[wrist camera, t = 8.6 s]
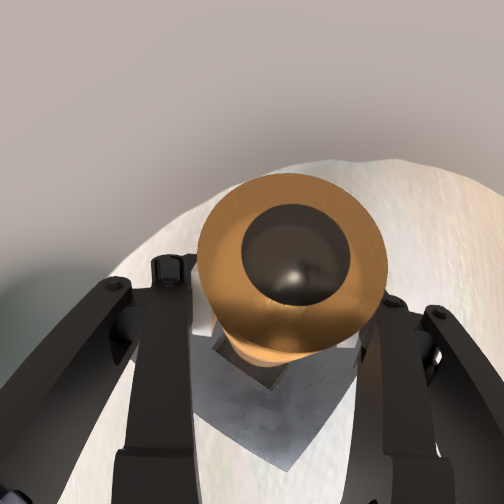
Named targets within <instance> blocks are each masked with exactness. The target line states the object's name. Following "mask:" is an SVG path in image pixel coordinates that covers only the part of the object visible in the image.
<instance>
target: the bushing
mask: <svg viewBox="0 0 504 504" xmlns="http://www.w3.org/2000/svg"><path fill="white" fill-rule="evenodd" d="M197 267H198V273H199V279H200V282H201V285H202V288H203V291H204V293H205V295H206V297H207V299H208V301H209V303H210V305H211V307H212V309H213V311H214V313H215V315H216V317H217V319H218V321H219V323H220V324H221V326H222V328H223V330H224V332H225V334H226V336H227V338H228V339H229V341H230V343H231V345H232V347H233V349H234V350H235V351H236V353H237V354H238V355H239V356H240V357H241V358H242V359H244V360H245V361H247V362H248V363H251V364H253V365H256V366H260V367H274V366H278V365H282V364H285V363H288V362H291V361H294V360H297V359H300V358H303V357H305V356H308V355H311V354H314V353H317V352H319V351H322V350H325V349H328V348H330V347H333V346H335V345H337V344H339V343H341V342H343V341H345V340H347V339H348V338H350V337H351V336H353V335H354V334H356V333H357V332H358V331H359V330H360V329H361V328H362V327H363V326H364V325H365V324H366V323H367V322H368V321H369V320H370V318H371V317H372V316H373V314H374V313H375V311H376V309H377V308H378V306H379V304H380V301H381V299H382V297H383V294H384V290H385V287H386V282H387V274H388V261H387V254H386V249H385V245H384V241H383V238H382V236H381V233H380V231H379V229H378V227H377V225H376V223H375V222H374V220H373V218H372V217H371V216H370V214H369V213H368V212H367V210H366V209H365V208H364V207H363V206H362V205H361V204H360V203H359V202H358V201H357V200H356V199H355V198H354V197H352V196H351V195H350V194H349V193H347V192H346V191H344V190H343V189H341V188H339V187H338V186H336V185H334V184H332V183H330V182H327V181H325V180H322V179H319V178H316V177H312V176H308V175H302V174H292V173H284V174H273V175H266V176H263V177H259V178H256V179H253V180H251V181H248V182H246V183H244V184H242V185H240V186H238V187H237V188H235V189H234V190H232V191H231V192H230V193H228V194H227V195H226V196H225V197H224V198H223V199H222V200H221V201H220V202H219V203H218V204H217V205H216V206H215V208H214V209H213V210H212V211H211V213H210V215H209V216H208V218H207V220H206V222H205V224H204V226H203V229H202V231H201V235H200V238H199V242H198V250H197Z"/></svg>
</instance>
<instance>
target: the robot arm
mask: <svg viewBox="0 0 504 504" xmlns="http://www.w3.org/2000/svg"><path fill="white" fill-rule="evenodd" d="M151 271H152V285H151V287H150V288H140V289H132V284H131V281H130V280H129V279H127V278H124V277H118V276H113V277H108V278H106V279H103V280H102V281H100V282H99V283H98V284H97V285H96V286H95V287H94V288H93V289H92V290H91V291H90V292H89V293H88V294H87V295H86V296H85V297H84V298H83V299H82V300H81V301H80V302H79V303H78V304H77V305H76V306H75V307H74V308H73V309H72V310H71V311H70V312H69V313H68V314H67V315H66V316H65V317H64V318H63V319H62V320H61V321H60V322H59V323H58V324H57V325H56V326H55V328H54V329H53V330H52V331H51V332H50V333H49V334H48V335H47V336H46V337H45V338H44V339H43V340H42V342H41V343H40V344H39V345H38V346H37V347H36V348H35V349H34V351H33V352H32V353H31V354H30V355H29V356H28V357H27V358H26V360H25V361H24V362H23V363H22V364H21V365H20V367H19V368H18V369H17V370H16V371H15V372H14V374H13V375H12V376H11V377H10V379H9V380H8V381H7V382H6V383H5V385H4V386H3V387H2V388H1V390H0V504H57V502H58V500H59V499H60V497H61V495H62V493H63V491H64V488H65V486H66V484H67V482H68V480H69V477H70V475H71V473H72V471H73V469H74V467H75V464H76V462H77V460H78V458H79V456H80V454H81V452H82V450H83V448H84V446H85V444H86V442H87V440H88V438H89V436H90V434H91V432H92V430H93V428H94V426H95V424H96V422H97V420H98V418H99V416H100V414H101V412H102V410H103V408H104V406H105V404H106V403H107V401H108V399H109V397H110V395H111V393H112V391H113V389H114V388H115V386H116V384H117V382H118V380H119V378H120V376H121V375H122V373H123V371H124V369H125V367H126V366H127V364H128V362H129V360H130V358H131V357H132V355H133V353H134V351H135V350H136V348H137V346H138V344H139V347H138V353H137V358H136V364H135V370H134V376H133V383H132V389H131V396H130V404H129V411H128V419H127V428H126V438H125V445H124V447H123V449H118V451H117V453H116V456H115V461H114V470H113V482H112V498H111V504H202V497H201V490H200V482H199V473H198V463H197V453H196V443H195V431H194V418H193V403H192V385H191V364H190V335H189V330H190V327H191V325H192V334H195V335H202V336H209V337H211V336H212V333H213V330H214V326H215V323H216V320H217V317H216V315H215V313H214V311H213V309H212V307H211V305H210V303H209V301H208V299H207V297H206V295H205V293H204V291H203V288H202V285H201V282H200V279H199V273H198V267H197V254H186V255H184V256H180V255H173V254H167V255H160V256H157V257H155V258H153V259H152V261H151ZM358 337H359V338H360V341H361V346H360V349H359V352H358V355H357V357H356V360H355V363H354V365H353V368H355V367H356V365H357V364H358V365H357V384H356V398H355V410H354V421H353V430H352V439H351V447H350V455H349V462H348V468H347V475H346V481H345V487H344V492H343V497H342V500H341V503H340V504H504V382H503V380H502V379H501V377H500V376H499V374H498V373H497V372H496V370H495V369H494V367H493V366H492V364H491V363H490V362H489V360H488V359H487V358H486V356H485V355H484V353H483V352H482V351H481V349H480V348H479V347H478V345H477V344H476V343H475V342H474V340H473V339H472V338H471V336H470V335H469V334H468V333H467V331H466V330H465V329H464V327H463V326H462V325H461V324H460V323H459V321H458V320H457V319H456V318H455V316H454V315H453V314H452V313H451V312H450V311H449V310H447V309H445V307H443V306H440V305H428V306H427V307H426V308H425V311H424V314H423V315H422V314H418V313H414V312H410V311H409V310H408V306H407V304H406V303H405V302H404V301H403V300H402V299H400V298H398V297H396V296H393V295H389V294H388V293H387V291H386V290H384V294H383V297H382V299H381V301H380V304H379V306H378V308H377V309H376V311H375V313H374V314H373V316H372V317H371V318H370V320H369V321H368V322H367V323H366V324H365V325H364V326H363V327H362V328H361V329H360V330H359V331H358V332H357V333H356V334H354V335H353V336H351V337H350V338H348V339H347V340H345V341H343V342H341V343H339V344H337V348H355V346H356V343H357V340H358ZM139 341H140V342H139ZM439 351H440V352H441V354H442V358H441V360H440V362H439V364H438V363H437V362H436V360H435V359H436V357H437V355H438V353H439ZM435 441H436V442H435ZM436 444H437V446H438V449H439V452H440V455H441V457H439V456H438V455H437V451H436Z"/></svg>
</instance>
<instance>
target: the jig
mask: <svg viewBox="0 0 504 504" xmlns="http://www.w3.org/2000/svg"><path fill="white" fill-rule="evenodd" d="M189 335H190V364H191V385H192V403H193V412H194V413H195V414H196V415H198V416H199V417H200V418H202V419H203V420H204V421H206V422H207V423H209V424H210V425H211V426H213V427H214V428H216V429H217V430H219V431H220V432H221V433H223V434H224V435H226V436H227V437H229V438H230V439H232V440H233V441H235V442H236V443H238V444H239V445H241V446H243V447H244V448H246V449H247V450H249V451H251V452H252V453H254V454H255V455H257V456H259V457H260V458H262V459H264V460H265V461H267V462H269V463H271V464H272V465H274V466H276V467H278V468H279V469H281V470H283V471H285V472H287V471H288V470H289V469H290V468H291V467H292V465H293V464H294V463H295V462H296V460H297V459H298V458H299V457H300V456H301V454H302V453H303V452H304V451H305V449H306V448H307V447H308V445H309V444H310V443H311V442H312V440H313V439H314V438H315V436H316V435H317V434H318V432H319V431H320V429H321V428H322V427H323V425H324V424H325V423H326V421H327V420H328V418H329V417H330V415H331V414H332V413H333V411H334V410H335V408H336V407H337V405H338V404H339V402H340V401H341V399H342V398H343V396H344V395H345V393H346V392H347V390H348V388H349V387H350V385H351V384H352V382H353V381H354V379H355V377H356V376H357V365H358V364H357V365H356V367H355V368H353V365H354V363H355V360H356V357H357V355H358V352H359V349H360V346H361V341H360V338H359V337H358V340H357V343H356V346H355V348H337V345H335V346H333V347H330V348H328V349H325V350H322V351H319V352H317V353H314V354H311V355H308V356H305V357H303V358H300V359H297V360H294V361H291V362H289V363H288V365H287V366H286V367H285V369H284V370H283V372H282V373H281V374H280V376H279V377H278V378H277V380H276V381H275V383H274V384H273V385H272V387H271V388H270V389H268V388H266V387H265V386H263V385H262V384H260V383H259V382H257V381H256V380H255V379H253V378H252V377H250V376H249V375H247V374H246V373H245V372H243V371H242V370H240V369H239V368H237V367H236V366H235V365H233V364H232V363H231V362H229V361H228V360H226V359H225V358H224V357H222V356H221V355H220V354H218V353H217V352H216V351H217V350H218V349H219V348H220V346H221V345H222V344H223V342H224V341H225V340H226V339H227V336H226V334H225V332H224V330H223V328H222V326H221V324H220V323H219V321H218V319H217V320H216V323H215V326H214V330H213V333H212V336H211V337H209V336H202V335H195V334H192V325H191V327H190V330H189ZM139 342H140V341H139ZM138 347H139V344H138V346H137V348H136V350H135V351H134V353H133V355H132V357H131V358H130V359H131V360H132V361H133V362H134V363H135V364H136V358H137V353H138Z"/></svg>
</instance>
